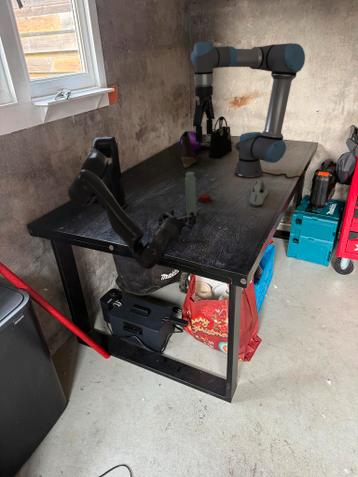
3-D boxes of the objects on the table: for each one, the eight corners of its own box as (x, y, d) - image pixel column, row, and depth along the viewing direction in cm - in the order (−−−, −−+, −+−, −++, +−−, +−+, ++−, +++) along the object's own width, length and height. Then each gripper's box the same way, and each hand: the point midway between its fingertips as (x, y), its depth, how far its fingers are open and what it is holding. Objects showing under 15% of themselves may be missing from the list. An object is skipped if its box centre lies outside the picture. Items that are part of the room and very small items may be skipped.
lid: (211, 202, 158) (211, 197, 157) (200, 203, 158) (200, 198, 157) (209, 197, 163) (209, 193, 162) (198, 198, 163) (198, 194, 161)
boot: (199, 157, 223) (198, 126, 213) (193, 168, 203) (192, 135, 193) (186, 157, 225) (185, 126, 215) (179, 168, 205) (177, 135, 195)
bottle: (185, 213, 149) (183, 172, 140) (195, 211, 150) (193, 170, 140) (188, 217, 145) (186, 175, 136) (197, 215, 146) (196, 174, 136)
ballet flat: (269, 188, 169) (270, 173, 165) (265, 208, 149) (266, 191, 145) (252, 187, 171) (253, 172, 167) (246, 206, 151) (247, 190, 147)
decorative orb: (204, 151, 235) (204, 129, 228) (194, 156, 225) (193, 134, 217) (186, 149, 243) (186, 128, 235) (175, 154, 232) (174, 132, 224)
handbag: (220, 159, 217) (220, 119, 204) (207, 157, 221) (207, 119, 208) (232, 151, 231) (233, 113, 219) (221, 150, 236) (221, 113, 223)
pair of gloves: (198, 151, 236) (198, 144, 233) (184, 143, 256) (183, 137, 254) (234, 145, 246) (235, 137, 243) (218, 138, 266) (218, 131, 263)
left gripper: (152, 237, 127) (167, 219, 140) (187, 242, 122) (199, 222, 135) (150, 220, 123) (166, 202, 136) (186, 224, 118) (199, 206, 131)
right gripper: (205, 82, 146) (205, 131, 157) (183, 89, 127) (186, 144, 137) (221, 82, 144) (221, 132, 154) (202, 89, 124) (202, 145, 135)
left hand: (182, 212), depth 136 cm, fingers open, 8 cm apart
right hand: (204, 138), depth 146 cm, fingers open, 13 cm apart
